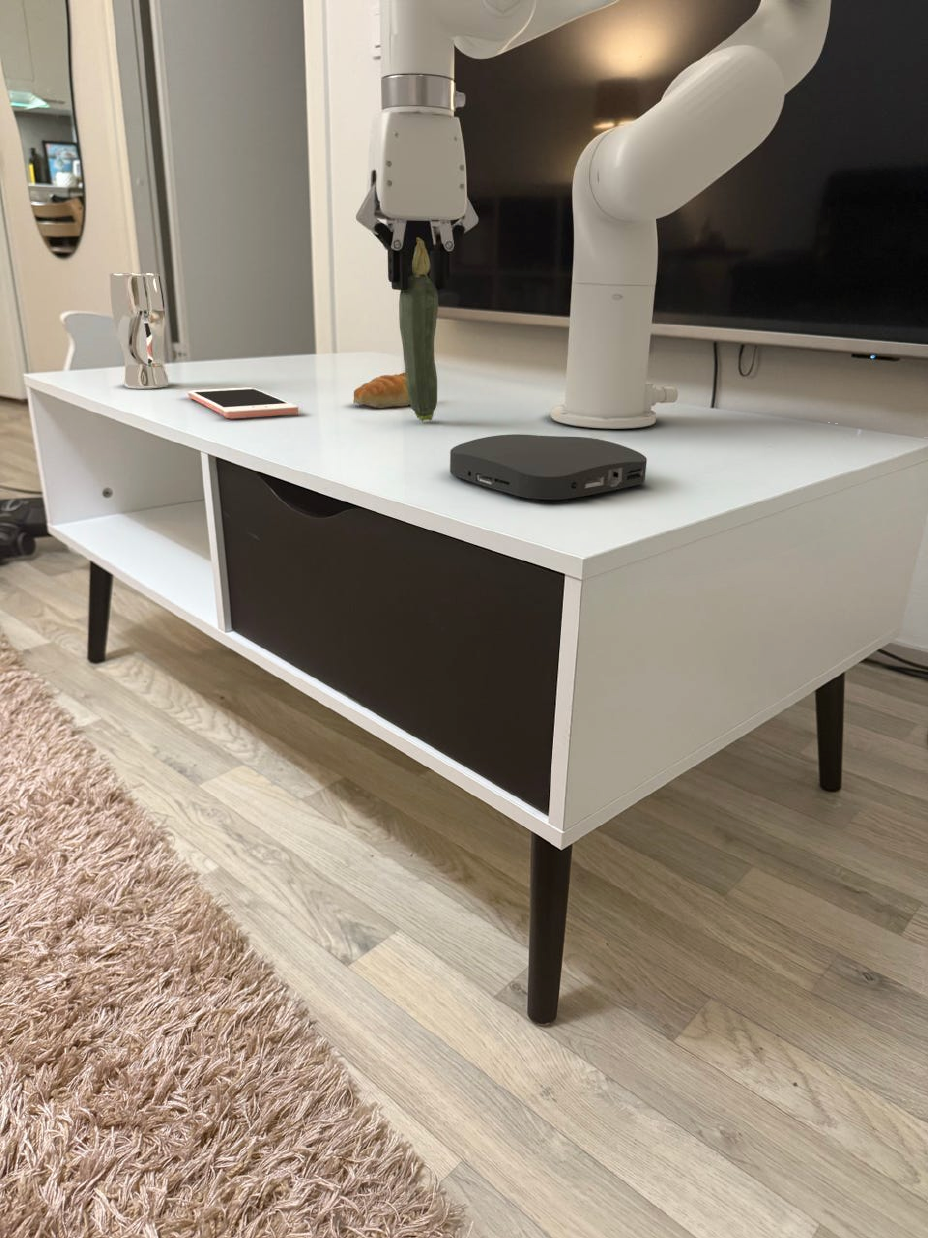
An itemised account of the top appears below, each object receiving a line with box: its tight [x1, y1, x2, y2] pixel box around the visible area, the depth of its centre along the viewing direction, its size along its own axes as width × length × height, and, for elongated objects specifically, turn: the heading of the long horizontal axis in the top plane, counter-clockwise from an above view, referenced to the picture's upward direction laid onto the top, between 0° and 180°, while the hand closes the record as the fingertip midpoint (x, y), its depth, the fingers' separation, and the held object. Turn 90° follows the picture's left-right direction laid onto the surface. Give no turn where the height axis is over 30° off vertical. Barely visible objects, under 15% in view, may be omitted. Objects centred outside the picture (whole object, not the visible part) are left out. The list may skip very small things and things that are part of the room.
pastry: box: [352, 372, 410, 409], centre depth 117 cm, size 9×7×4 cm
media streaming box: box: [449, 433, 648, 501], centre depth 80 cm, size 15×15×3 cm
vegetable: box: [398, 237, 439, 423], centre depth 102 cm, size 4×4×20 cm
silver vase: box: [109, 272, 170, 390], centre depth 126 cm, size 7×7×15 cm
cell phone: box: [187, 386, 299, 419], centre depth 114 cm, size 9×18×1 cm, turn 30°
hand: (419, 287), depth 100 cm, fingers closed on vegetable, 4 cm apart
